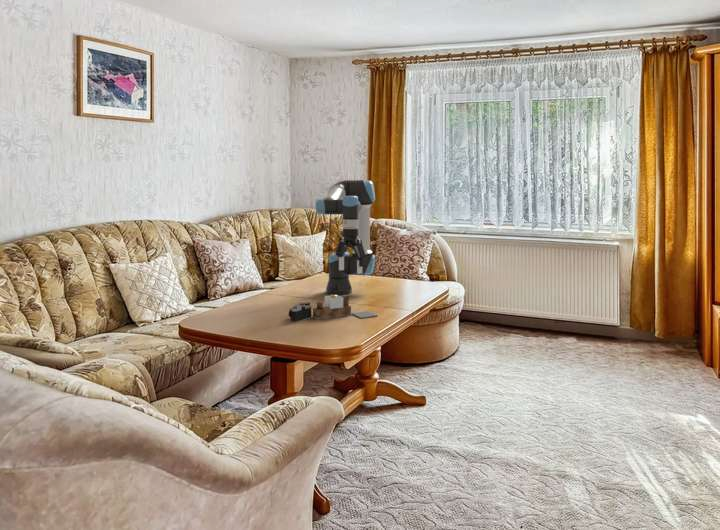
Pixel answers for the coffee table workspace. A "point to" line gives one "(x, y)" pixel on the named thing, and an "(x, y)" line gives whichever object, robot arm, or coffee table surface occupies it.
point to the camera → (300, 312)
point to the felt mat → (364, 314)
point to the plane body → (332, 310)
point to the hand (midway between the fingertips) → (350, 271)
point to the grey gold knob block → (333, 301)
